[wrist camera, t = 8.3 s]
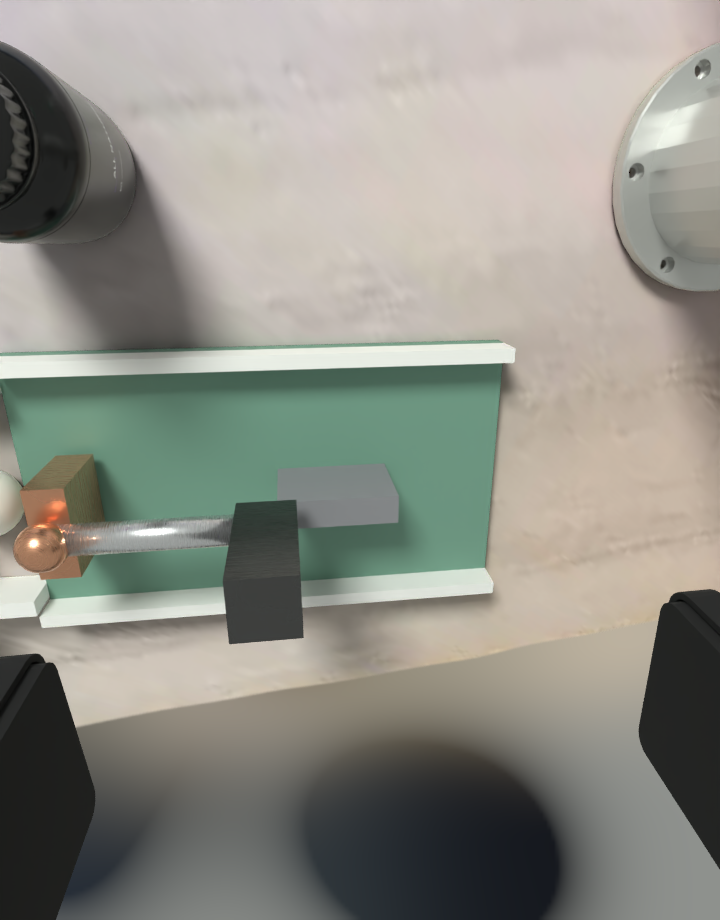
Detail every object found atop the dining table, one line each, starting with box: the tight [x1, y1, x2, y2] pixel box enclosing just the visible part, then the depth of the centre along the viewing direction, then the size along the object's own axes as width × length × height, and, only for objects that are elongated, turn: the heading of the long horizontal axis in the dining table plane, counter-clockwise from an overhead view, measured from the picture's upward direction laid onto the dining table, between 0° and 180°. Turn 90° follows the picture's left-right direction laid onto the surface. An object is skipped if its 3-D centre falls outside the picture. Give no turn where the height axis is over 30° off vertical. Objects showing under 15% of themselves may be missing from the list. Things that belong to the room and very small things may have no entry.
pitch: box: [0, 340, 516, 628], centre depth 33 cm, size 34×16×6 cm, turn 90°
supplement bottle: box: [0, 41, 136, 244], centre depth 23 cm, size 7×7×12 cm
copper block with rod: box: [13, 454, 304, 644], centre depth 28 cm, size 13×5×12 cm, turn 90°
